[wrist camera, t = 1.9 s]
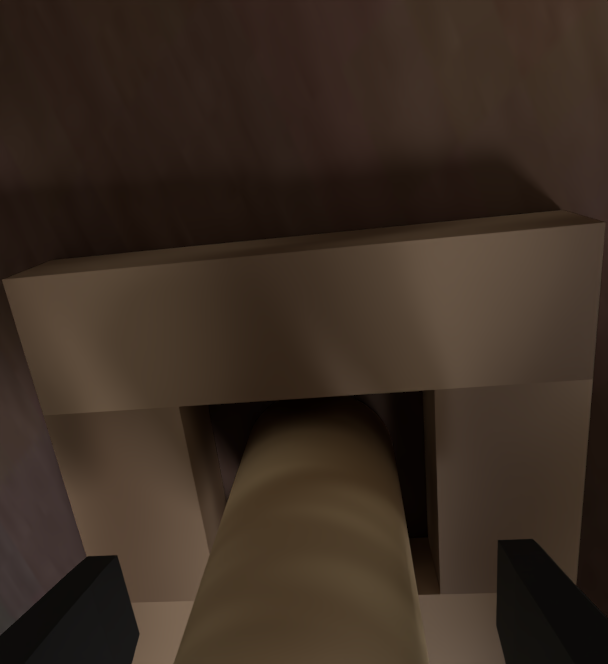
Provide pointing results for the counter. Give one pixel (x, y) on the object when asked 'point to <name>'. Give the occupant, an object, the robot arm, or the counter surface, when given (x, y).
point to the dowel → (310, 548)
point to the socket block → (325, 392)
